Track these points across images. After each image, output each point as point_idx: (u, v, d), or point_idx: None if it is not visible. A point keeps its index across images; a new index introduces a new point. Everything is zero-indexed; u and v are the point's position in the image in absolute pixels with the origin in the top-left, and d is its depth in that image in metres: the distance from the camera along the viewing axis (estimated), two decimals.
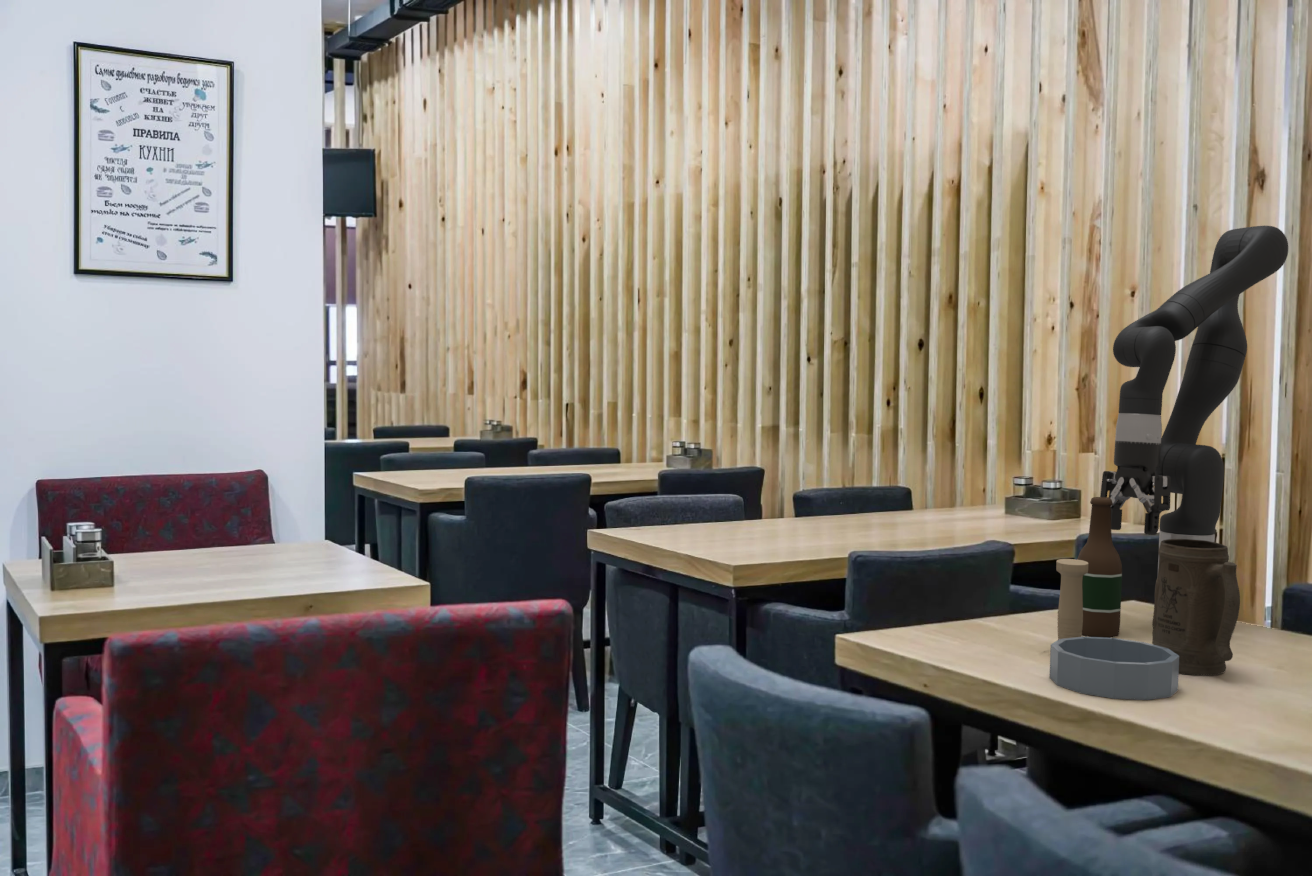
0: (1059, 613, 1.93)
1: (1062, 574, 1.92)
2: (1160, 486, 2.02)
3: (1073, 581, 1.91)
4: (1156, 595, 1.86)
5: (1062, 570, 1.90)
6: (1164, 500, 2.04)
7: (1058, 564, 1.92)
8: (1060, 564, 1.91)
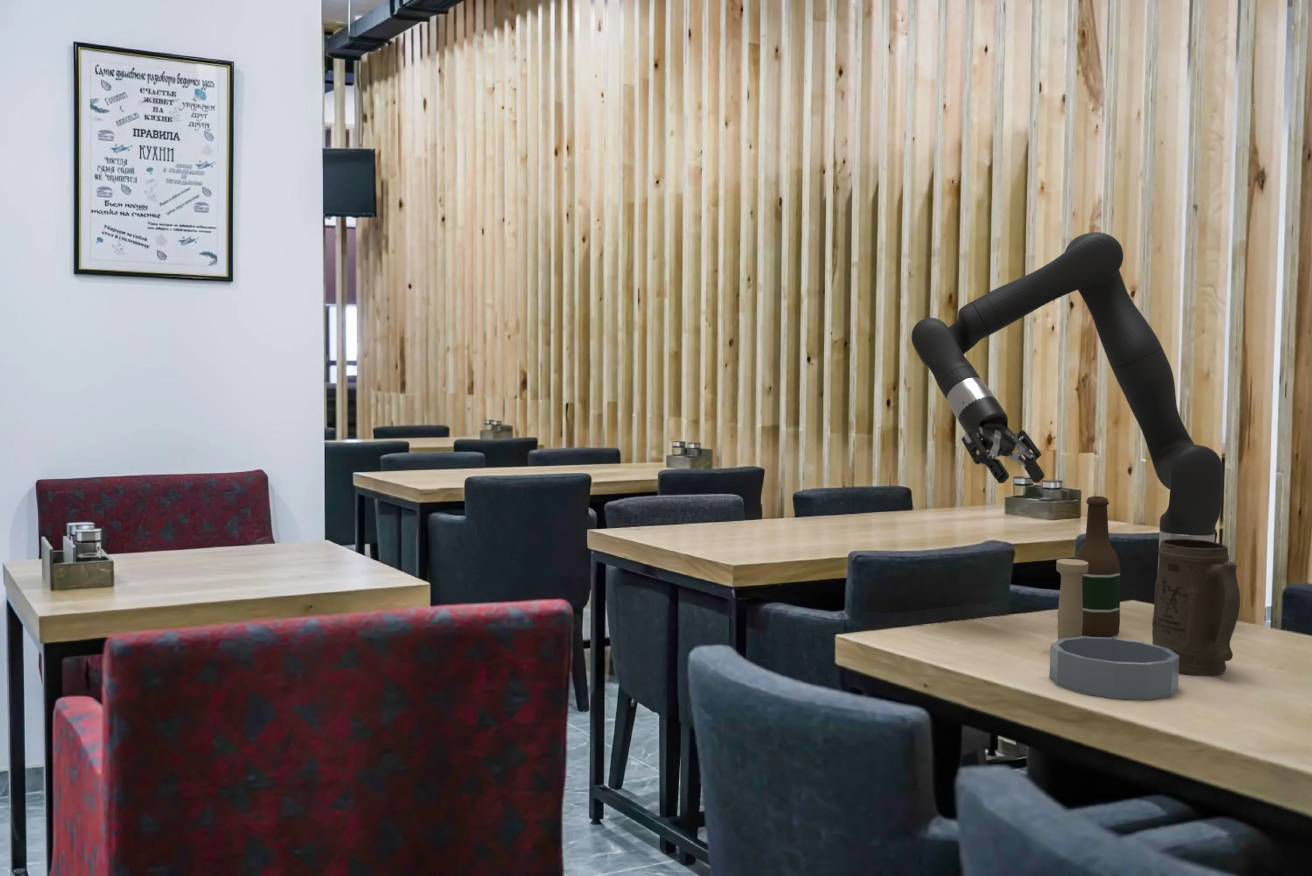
0: (1059, 613, 1.93)
1: (1062, 574, 1.92)
2: (966, 445, 2.03)
3: (1073, 581, 1.91)
4: (1156, 595, 1.86)
5: (1062, 570, 1.90)
6: None
7: (1058, 564, 1.92)
8: (1060, 564, 1.91)
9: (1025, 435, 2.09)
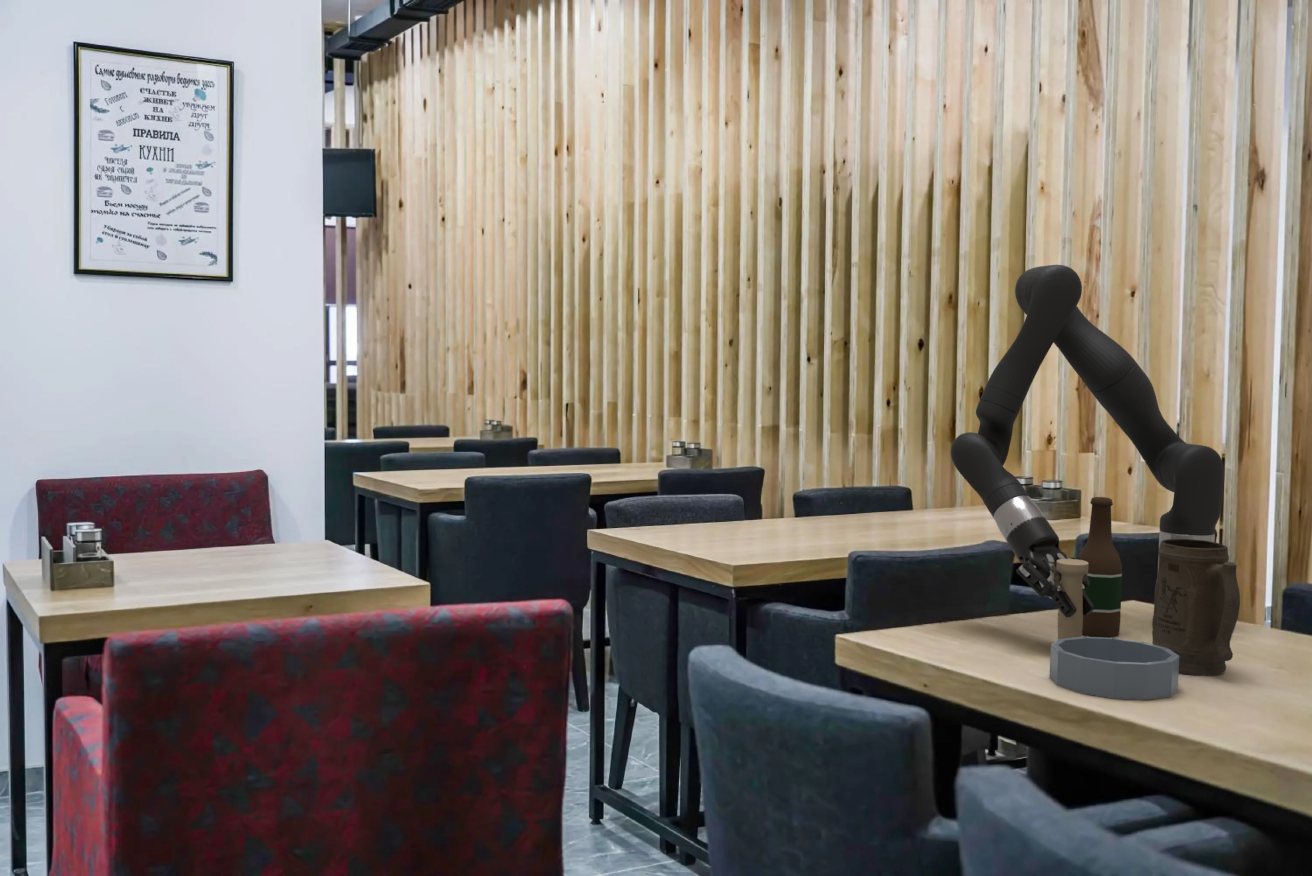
0: (1059, 613, 1.93)
1: (1062, 574, 1.92)
2: (1024, 579, 1.93)
3: (1073, 581, 1.91)
4: (1156, 595, 1.86)
5: (1062, 570, 1.90)
6: None
7: (1058, 564, 1.92)
8: (1060, 564, 1.91)
9: None
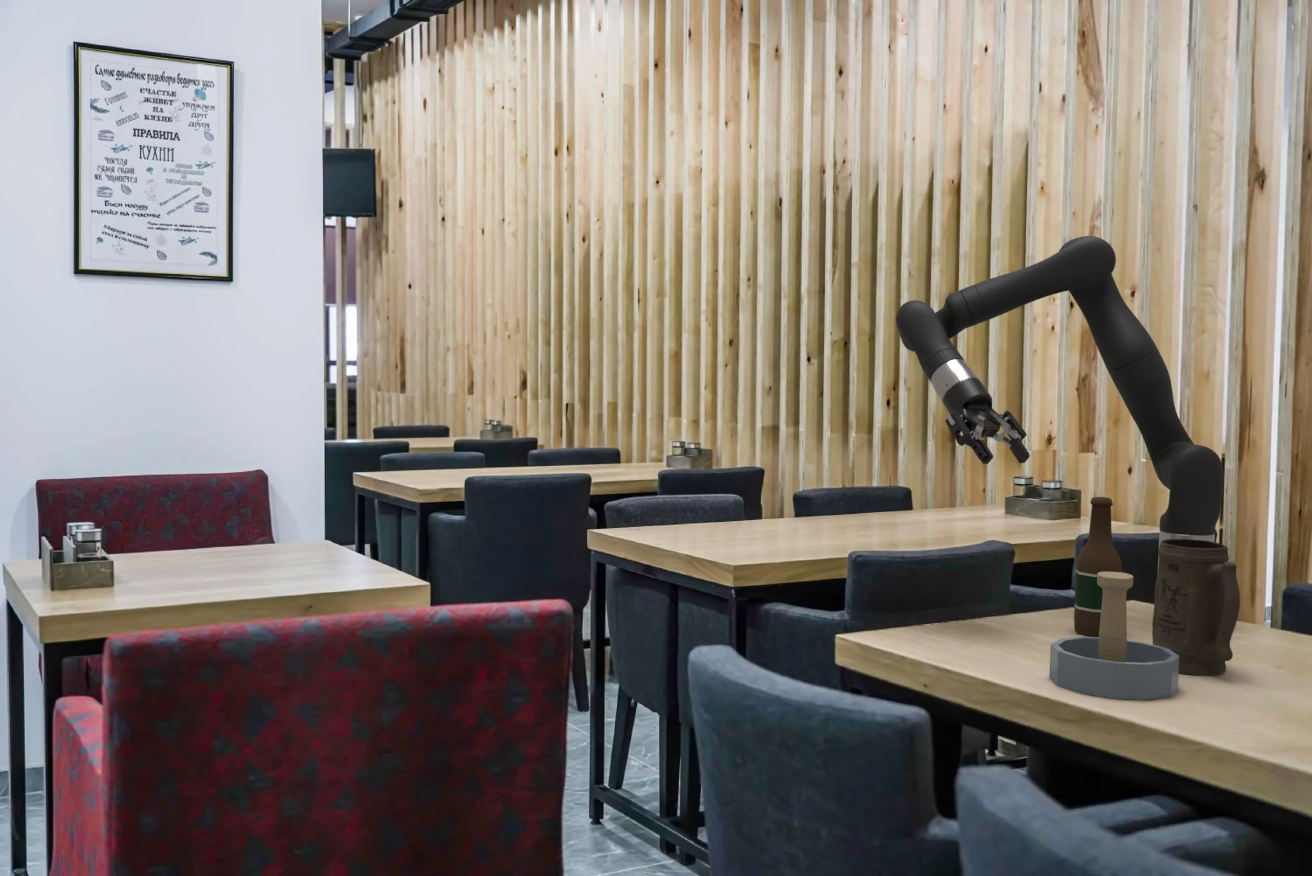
0: (1100, 632, 1.74)
1: (1104, 588, 1.73)
2: (949, 427, 2.03)
3: (1116, 597, 1.72)
4: (1156, 595, 1.86)
5: (1104, 584, 1.72)
6: None
7: (1099, 578, 1.73)
8: (1102, 577, 1.72)
9: (1010, 416, 2.08)
